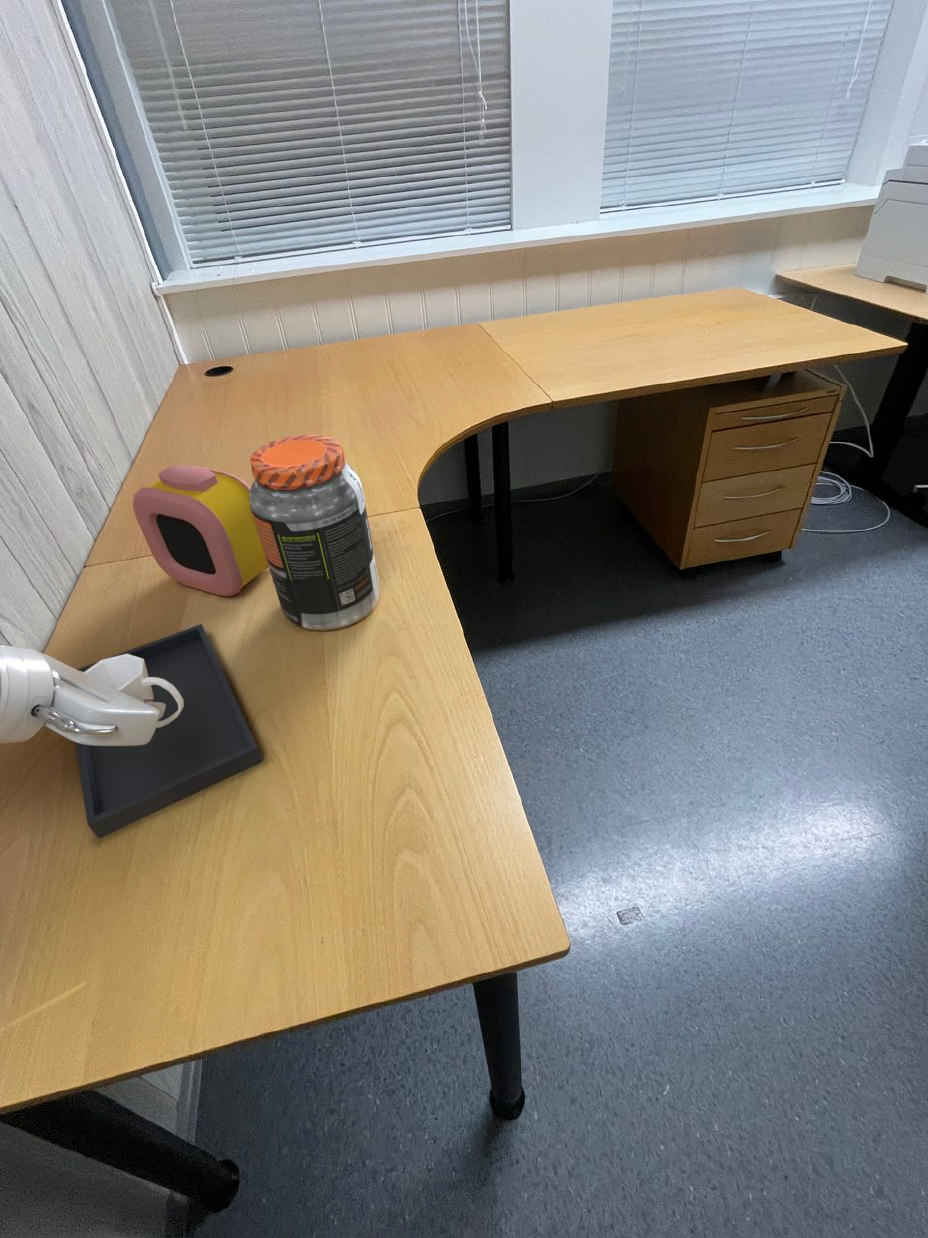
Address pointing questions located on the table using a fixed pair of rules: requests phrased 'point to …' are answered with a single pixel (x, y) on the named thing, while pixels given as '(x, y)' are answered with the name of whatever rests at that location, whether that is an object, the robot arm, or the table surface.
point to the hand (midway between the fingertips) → (133, 696)
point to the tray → (169, 738)
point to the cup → (133, 680)
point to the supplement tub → (314, 531)
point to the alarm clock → (201, 528)
